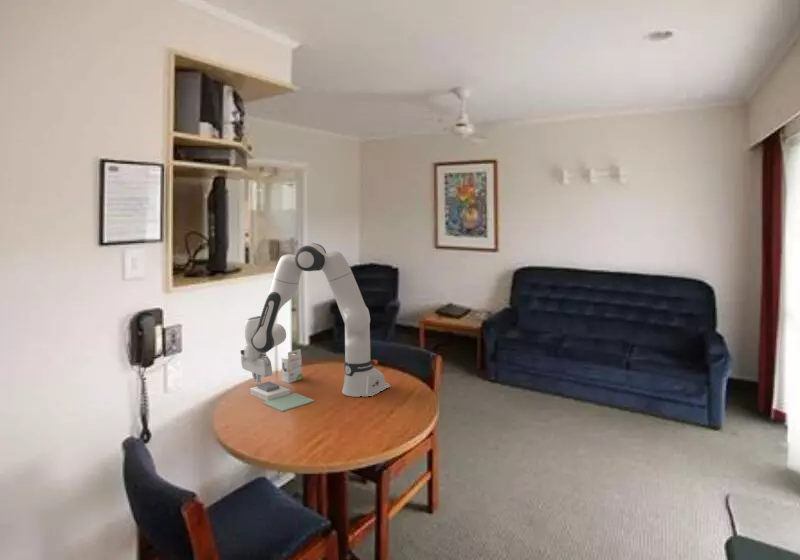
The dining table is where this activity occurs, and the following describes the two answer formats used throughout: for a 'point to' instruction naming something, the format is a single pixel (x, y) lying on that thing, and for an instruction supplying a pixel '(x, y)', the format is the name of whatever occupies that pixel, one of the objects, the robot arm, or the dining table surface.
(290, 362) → the ink box
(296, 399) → the mat
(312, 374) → the dining table surface
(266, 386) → the slate coaster
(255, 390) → the stand
